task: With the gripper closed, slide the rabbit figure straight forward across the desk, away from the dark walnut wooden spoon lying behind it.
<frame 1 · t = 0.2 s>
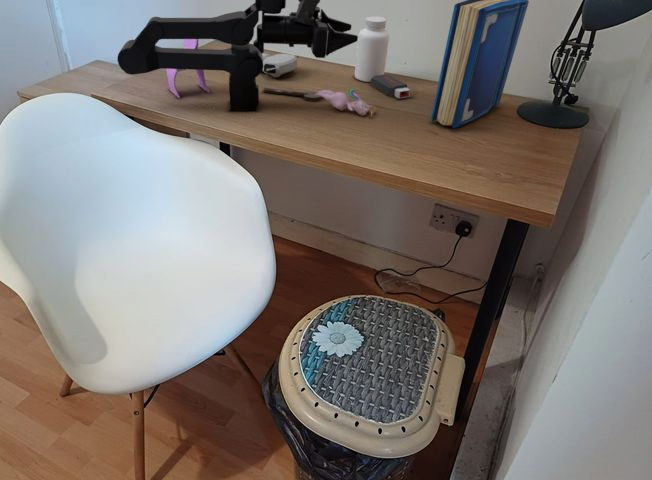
hand: (354, 32, 118), 17 cm above the table, tool horizontal, fingers open, 9 cm apart
pill bottle: (368, 78, 144), on the table
usb drive: (390, 91, 137), on the table
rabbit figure: (343, 111, 126), on the table
robot toy: (269, 72, 147), on the table
book: (467, 115, 125), on the table
spoon: (291, 95, 133), on the table
toy chair: (189, 92, 134), on the table
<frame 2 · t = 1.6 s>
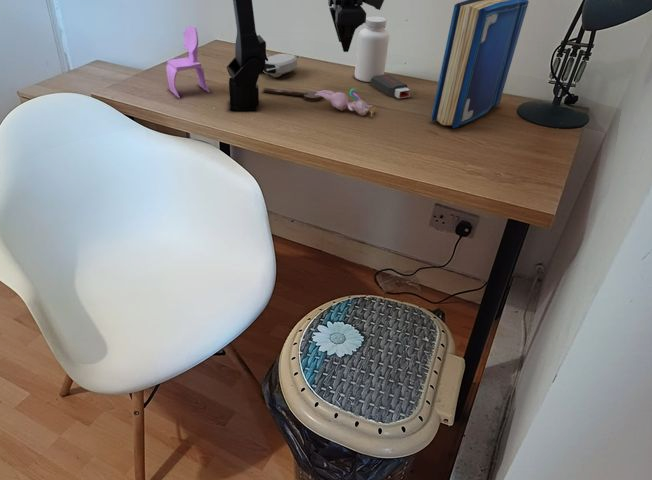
hand: (343, 46, 125), 12 cm above the table, tool pointing down, fingers open, 8 cm apart
nothing on the table moved.
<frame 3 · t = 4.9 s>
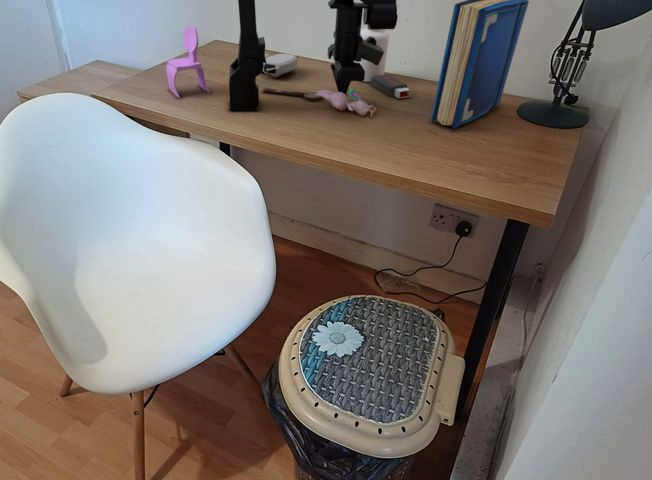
hand: (342, 98, 128), 2 cm above the table, tool pointing down, fingers closed
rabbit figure: (343, 111, 126), on the table, touching gripper
everything else where it was.
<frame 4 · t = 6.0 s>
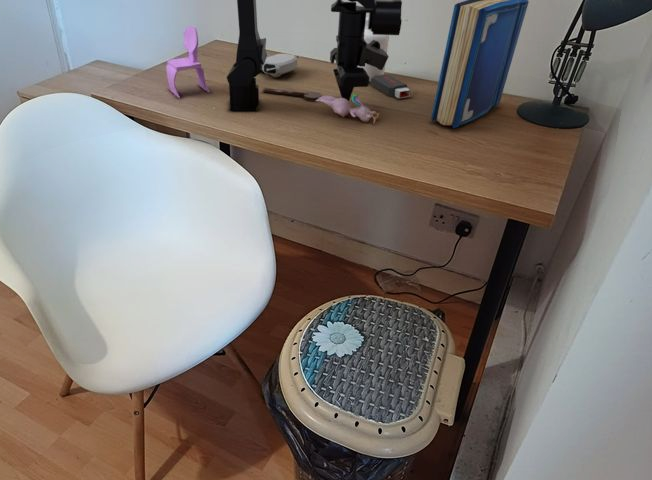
hand: (345, 103, 125), 2 cm above the table, tool pointing down, fingers closed
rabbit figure: (346, 117, 123), on the table, touching gripper
everything else where it was.
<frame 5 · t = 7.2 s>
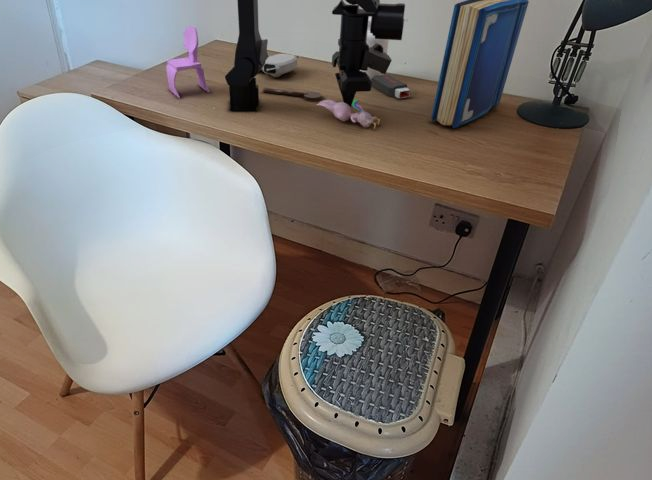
hand: (347, 108, 122), 2 cm above the table, tool pointing down, fingers closed
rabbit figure: (346, 122, 121), on the table, touching gripper
everything else where it was.
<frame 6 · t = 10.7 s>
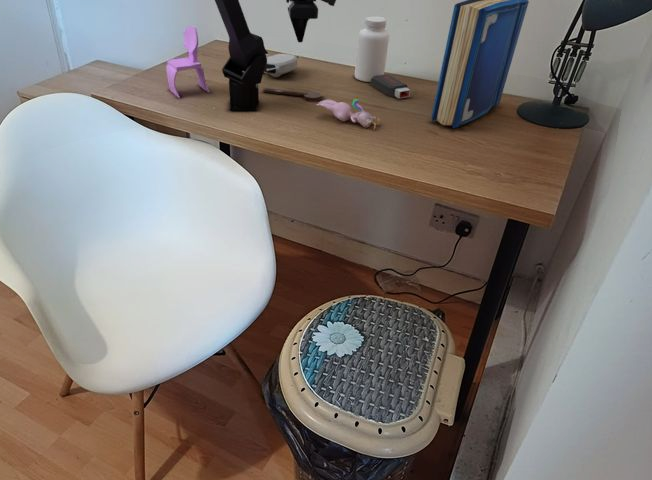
hand: (300, 42, 128), 12 cm above the table, tool pointing down, fingers closed
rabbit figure: (346, 122, 121), on the table
everything else where it was.
at the end: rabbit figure inside the target area on the table beside the spoon (3.7 cm from its centre), on the table; spoon moved 0.0 cm from its start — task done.
